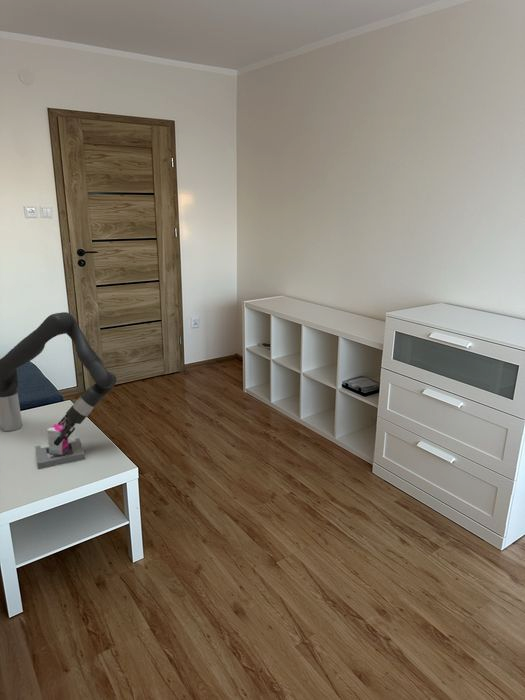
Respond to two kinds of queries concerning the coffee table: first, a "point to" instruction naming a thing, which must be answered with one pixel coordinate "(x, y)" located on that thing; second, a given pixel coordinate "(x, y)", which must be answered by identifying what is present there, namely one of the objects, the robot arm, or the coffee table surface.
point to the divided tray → (45, 462)
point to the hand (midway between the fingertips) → (54, 440)
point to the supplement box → (52, 436)
